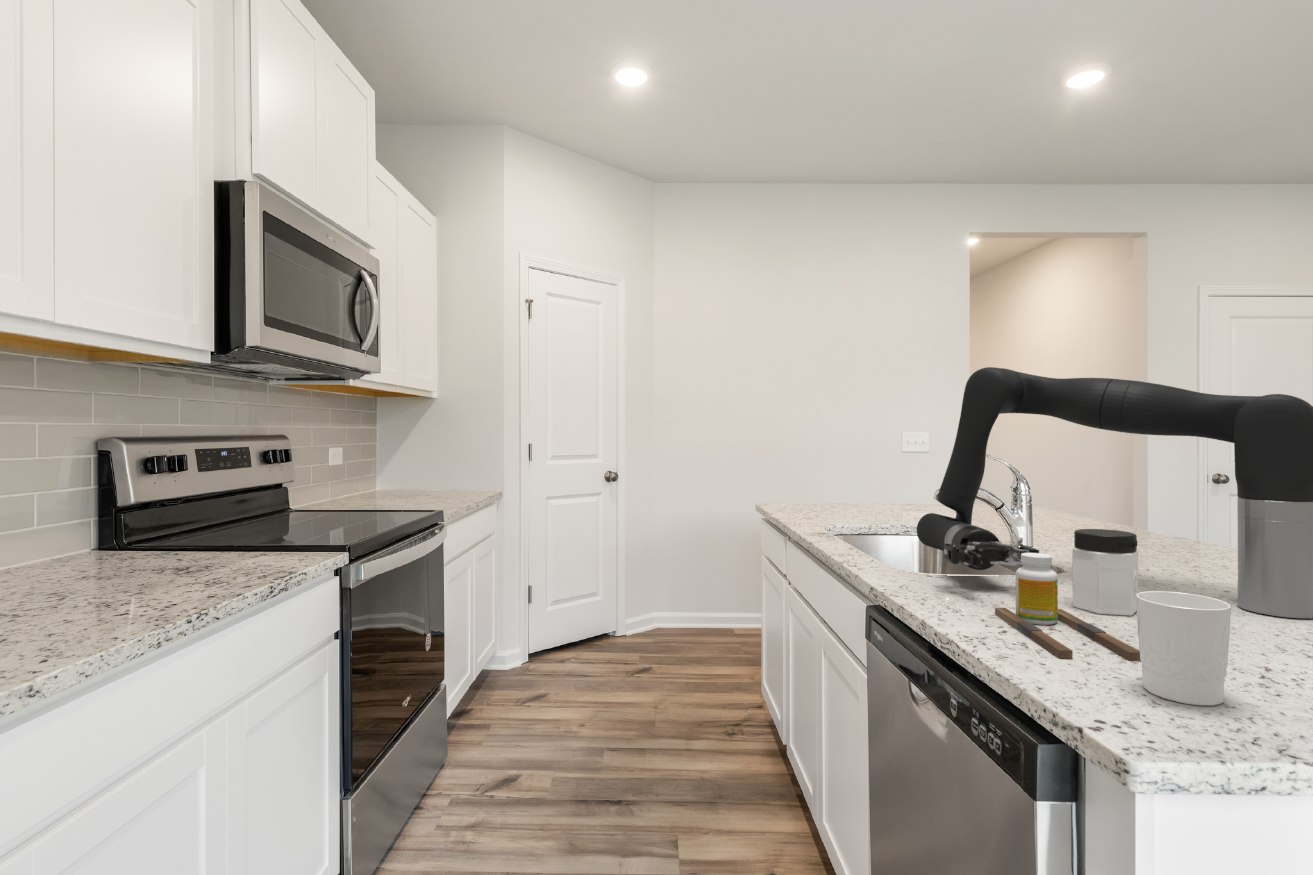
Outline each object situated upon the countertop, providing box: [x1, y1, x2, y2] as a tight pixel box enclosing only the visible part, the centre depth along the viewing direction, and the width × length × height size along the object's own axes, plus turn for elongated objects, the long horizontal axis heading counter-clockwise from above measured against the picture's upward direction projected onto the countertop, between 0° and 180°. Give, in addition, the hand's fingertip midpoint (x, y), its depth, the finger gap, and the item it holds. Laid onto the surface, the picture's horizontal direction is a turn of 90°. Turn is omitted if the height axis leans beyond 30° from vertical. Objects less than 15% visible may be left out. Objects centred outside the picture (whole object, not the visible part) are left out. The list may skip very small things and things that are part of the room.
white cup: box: [1136, 590, 1232, 707], centre depth 70 cm, size 8×8×10 cm
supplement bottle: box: [1015, 552, 1059, 626], centre depth 97 cm, size 5×5×10 cm
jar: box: [1071, 528, 1139, 617], centre depth 103 cm, size 9×8×12 cm
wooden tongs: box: [994, 607, 1141, 662], centre depth 90 cm, size 10×20×1 cm, turn 173°
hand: (1006, 562), depth 108 cm, fingers open, 8 cm apart
